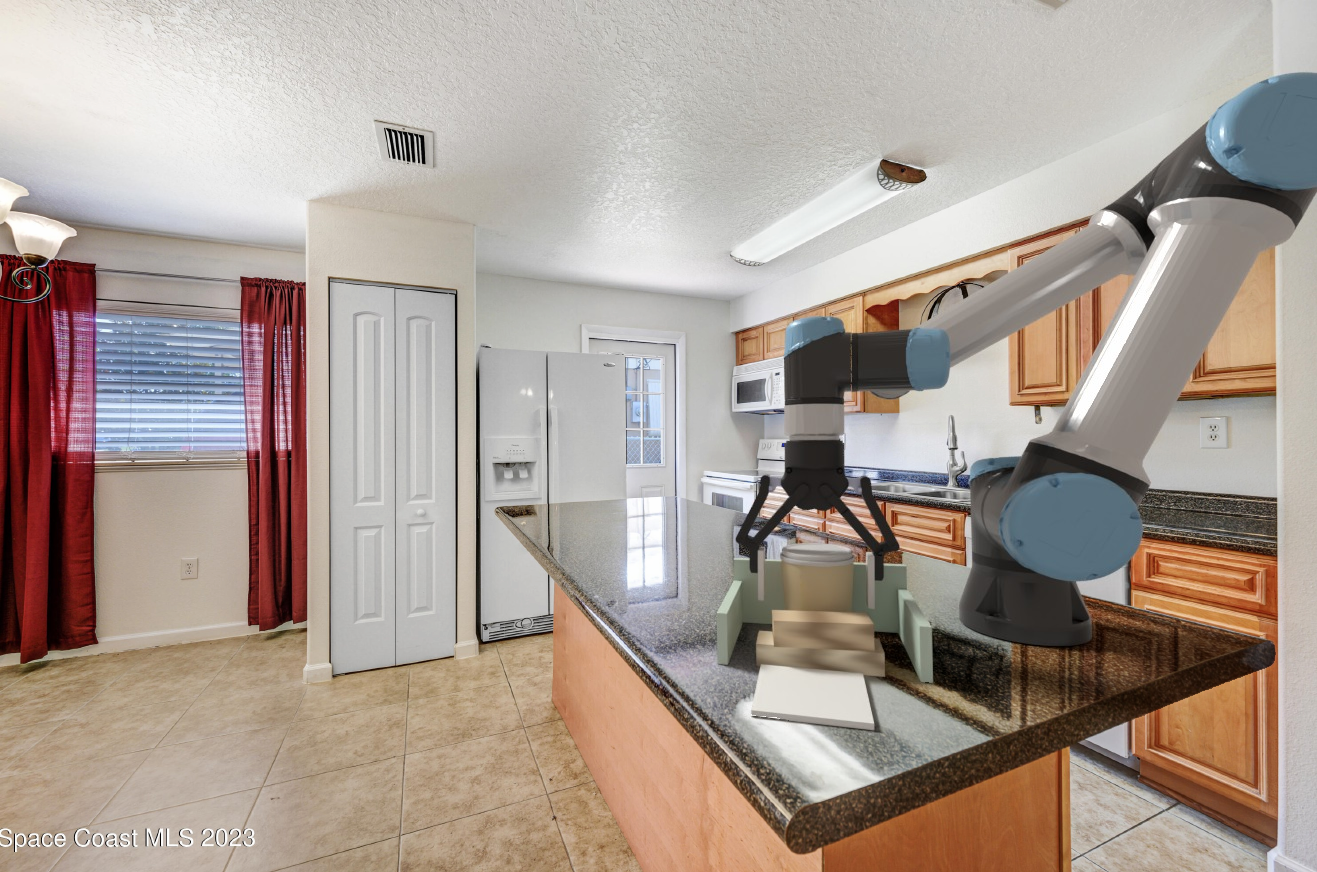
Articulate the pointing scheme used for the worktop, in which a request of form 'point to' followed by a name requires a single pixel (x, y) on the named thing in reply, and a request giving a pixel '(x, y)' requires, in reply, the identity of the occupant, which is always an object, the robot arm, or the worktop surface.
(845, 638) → the oak offcut
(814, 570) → the coffee cup
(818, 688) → the white square tile
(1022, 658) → the worktop surface
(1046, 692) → the worktop surface
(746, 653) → the worktop surface
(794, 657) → the birch offcut
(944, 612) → the worktop surface
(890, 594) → the screen
